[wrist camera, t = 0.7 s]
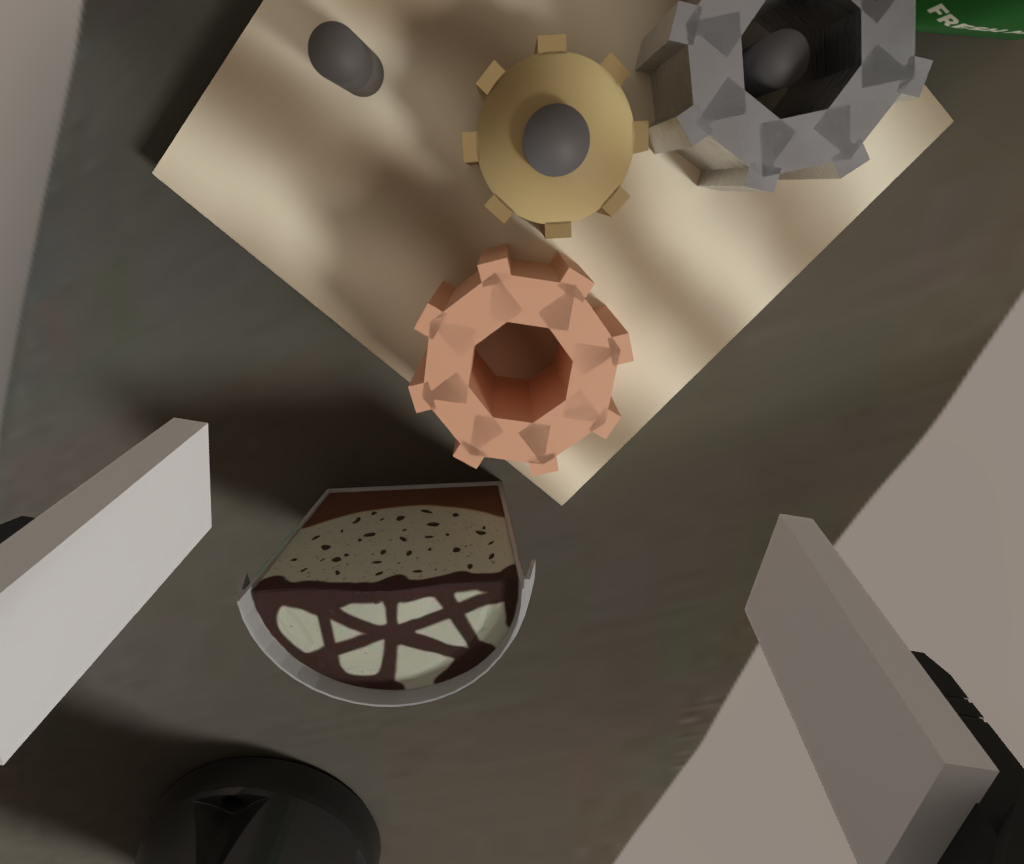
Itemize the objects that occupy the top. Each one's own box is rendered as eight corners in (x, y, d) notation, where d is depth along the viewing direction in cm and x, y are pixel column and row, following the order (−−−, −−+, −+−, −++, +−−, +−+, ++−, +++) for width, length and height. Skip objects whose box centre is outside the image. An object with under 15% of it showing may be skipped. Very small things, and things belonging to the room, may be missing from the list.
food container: (317, 587, 37) (252, 723, 28) (299, 489, 35) (222, 601, 26) (533, 578, 37) (542, 711, 28) (529, 479, 35) (537, 587, 25)
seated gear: (750, 226, 29) (808, 237, 23) (597, 110, 27) (620, 90, 21) (887, 45, 26) (989, 8, 21) (728, -95, 25) (793, -177, 19)
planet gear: (499, 454, 33) (498, 510, 27) (391, 320, 30) (365, 351, 25) (641, 357, 31) (671, 395, 25) (538, 206, 28) (546, 212, 23)
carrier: (559, 492, 35) (569, 552, 29) (169, 173, 29) (86, 170, 24) (931, 124, 29) (1037, 109, 23) (527, -375, 23) (533, -560, 17)
